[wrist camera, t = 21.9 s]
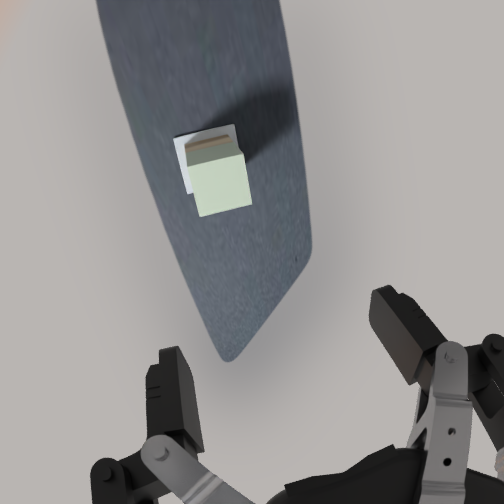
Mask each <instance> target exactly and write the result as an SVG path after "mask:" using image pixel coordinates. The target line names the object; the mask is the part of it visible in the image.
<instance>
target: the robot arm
mask: <svg viewBox="0 0 504 504" xmlns="http://www.w3.org/2000/svg"><path fill="white" fill-rule="evenodd" d="M369 321H370V325H371V327H372V329H373V330H374V332H375V333H376V335H377V336H378V338H379V339H380V341H381V343H382V344H383V345H384V347H385V349H386V350H387V352H388V353H389V355H390V356H391V358H392V359H393V361H394V362H395V364H396V366H397V367H398V369H399V370H400V372H401V374H402V375H403V377H404V378H405V380H406V382H407V383H408V385H411V384H413V383H415V382H418V383H419V385H420V388H419V393H418V400H417V406H416V412H415V418H414V424H413V428H412V431H411V434H410V436H409V439H408V442H407V446H406V448H398V449H395V447H394V445H393V444H392V445H390V446H388V447H385V448H383V449H381V450H379V451H377V452H375V453H372V454H370V455H368V456H367V457H365V458H364V459H363V460H361V461H360V462H358V463H357V464H355V465H354V466H353V467H351V468H350V469H348V470H347V471H345V472H343V473H337V474H329V475H320V476H312V477H309V478H306V479H302V480H299V481H296V482H292V483H289V484H285V485H284V486H285V490H283V491H281V492H280V493H278V494H277V495H275V496H274V497H273V498H272V499H270V500H269V501H268V502H267V504H504V337H502V336H501V335H498V334H490V335H488V336H486V337H485V339H484V340H483V342H482V344H479V345H473V346H467V347H463V346H462V345H460V344H459V343H456V342H453V341H448V340H447V339H446V338H445V337H444V336H443V335H442V333H441V332H440V331H439V329H438V328H437V327H436V326H435V324H434V323H433V322H432V321H431V320H430V318H429V317H428V316H426V313H425V312H424V311H423V310H422V309H420V306H419V305H418V304H417V303H416V302H415V300H414V299H413V298H411V297H409V296H407V295H406V294H404V293H401V294H398V293H397V292H396V291H395V289H394V288H393V287H392V286H391V285H387V286H384V287H381V288H378V289H375V290H373V291H372V295H371V303H370V310H369ZM494 381H495V382H494ZM496 384H497V385H496ZM497 386H498V387H497ZM499 389H500V390H499ZM501 392H502V393H501ZM468 399H469V400H468ZM473 408H474V410H475V411H476V413H477V415H478V417H479V418H480V420H481V422H482V424H483V426H484V427H485V429H486V431H487V432H488V435H489V436H490V439H491V440H492V442H493V444H494V446H495V448H496V450H497V452H498V453H497V456H496V463H495V470H496V471H497V472H498V477H497V478H495V477H492V476H489V475H486V474H483V473H480V472H477V471H474V470H471V469H469V468H467V461H468V454H469V446H470V437H471V425H472V409H473ZM146 416H147V439H146V442H145V443H144V444H143V446H142V448H141V449H140V450H139V451H138V452H136V453H134V454H132V455H130V456H128V457H126V458H124V459H121V460H119V461H116V460H115V459H112V458H102V459H100V460H98V461H97V462H96V463H95V464H94V465H93V467H92V469H91V473H90V478H91V491H92V503H93V504H159V503H158V498H159V497H161V496H163V495H165V494H168V493H170V492H173V493H174V494H175V495H176V496H177V497H178V498H180V499H181V500H182V501H183V503H184V504H255V503H253V502H252V501H250V500H249V499H248V498H246V497H245V496H243V495H242V494H241V493H239V492H238V491H236V490H235V489H234V488H232V487H231V486H230V485H228V484H227V483H226V482H224V481H223V480H222V479H220V478H219V477H218V476H216V475H214V474H213V473H212V472H210V471H209V470H208V469H207V468H205V467H204V466H203V465H202V464H201V463H199V462H198V456H197V453H202V452H204V446H203V440H202V434H201V428H200V421H199V415H198V408H197V402H196V394H195V387H194V381H193V376H192V373H191V370H190V367H189V365H188V363H187V362H186V360H185V358H184V356H183V354H182V352H181V350H180V348H179V346H174V347H169V348H165V349H161V350H159V364H155V365H151V366H150V368H149V370H148V372H147V375H146Z"/></svg>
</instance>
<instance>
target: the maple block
mask: <svg viewBox="0 0 504 504" xmlns="http://www.w3.org/2000/svg"><path fill="white" fill-rule="evenodd" d="M230 142H233V141H232V139H231V138H230V137H229V136H228V134H227V135H222V136H218V137H213V138H209V139H205V140H200V141H196V142H192V143H188V144H184V147H185V155H186V153H187V152H191V151H195V150H200V149H204V148H208V147H212V146H217V145H221V144H226V143H230Z"/></svg>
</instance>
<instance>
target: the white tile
mask: <svg viewBox="0 0 504 504" xmlns="http://www.w3.org/2000/svg"><path fill="white" fill-rule="evenodd" d="M227 134H228V136H229V137H230V138H231V139H232V141H233V142H234V143H235V144H236V145H237V146H238V142H237V136H236V131H235V126H234V124H231V125H226V126H221V127H217V128H212V129H208V130H204V131H199V132H195V133H191V134H187V135H183V136H180V137H176V138H173V140H174V144H175V148H176V152H177V156H178V160H179V163H180V167H181V171H182V175H183V179H184V183H185V186H186V190H187V194H190V193H194V192H193V188H192V184H191V180H190V176H189V172H188V168H187V161H186V155H185V147H184V144H188V143H192V142H196V141H200V140H205V139H209V138H213V137H218V136H222V135H227ZM238 148H239V147H238Z"/></svg>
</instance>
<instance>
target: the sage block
mask: <svg viewBox="0 0 504 504" xmlns="http://www.w3.org/2000/svg"><path fill="white" fill-rule="evenodd" d="M186 161H187V168H188V172H189V176H190V180H191V184H192V188H193V192H194V196H195V200H196V204H197V208H198V212H199V216H200V217H202V216H206V215H210V214H214V213H218V212H222V211H226V210H230V209H234V208H238V207H243V206H247V205H251V204H252V201H251V195H250V189H249V183H248V178H247V172H246V166H245V160H244V154H243V153H242V151H241V150H240V149H239V148H238V146H237V145H236V144H235V143H234V142H230V143H226V144H221V145H217V146H212V147H208V148H204V149H200V150H195V151H191V152H187V153H186Z"/></svg>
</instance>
